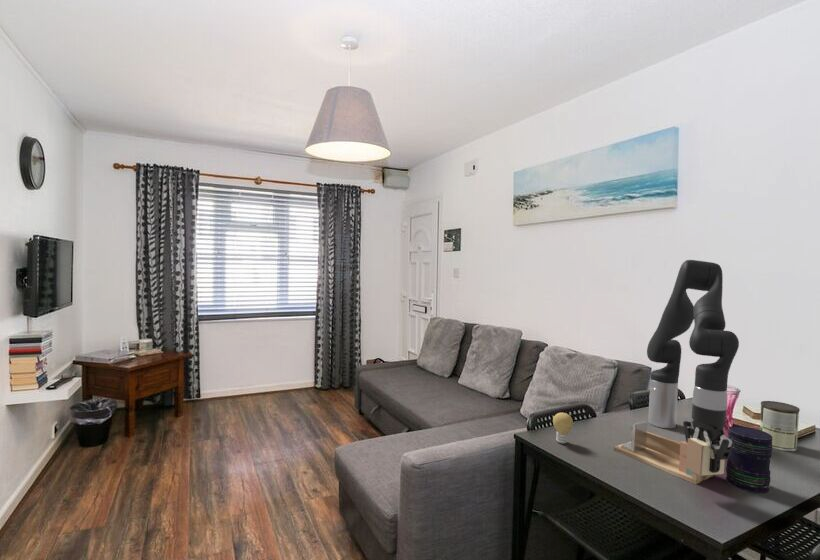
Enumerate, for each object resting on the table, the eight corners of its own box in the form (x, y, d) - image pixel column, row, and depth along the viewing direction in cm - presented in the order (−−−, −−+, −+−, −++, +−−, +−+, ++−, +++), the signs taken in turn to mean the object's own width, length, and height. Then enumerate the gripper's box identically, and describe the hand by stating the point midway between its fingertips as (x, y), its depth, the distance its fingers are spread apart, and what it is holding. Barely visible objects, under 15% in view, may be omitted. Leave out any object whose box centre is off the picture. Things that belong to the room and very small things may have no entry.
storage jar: (730, 472, 128) (733, 423, 127) (772, 486, 120) (776, 433, 120) (721, 483, 121) (724, 431, 121) (765, 498, 114) (769, 442, 113)
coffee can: (751, 437, 156) (754, 399, 155) (783, 440, 154) (786, 401, 154) (770, 449, 146) (773, 408, 145) (805, 452, 144) (807, 411, 144)
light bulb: (567, 447, 142) (568, 417, 141) (548, 442, 146) (550, 412, 146) (574, 442, 146) (576, 413, 146) (556, 436, 151) (558, 408, 150)
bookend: (633, 443, 144) (634, 417, 144) (646, 448, 141) (647, 421, 140) (621, 447, 141) (622, 420, 141) (633, 452, 137) (635, 424, 137)
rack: (632, 443, 147) (634, 413, 146) (714, 475, 125) (716, 440, 125) (613, 449, 141) (615, 418, 141) (695, 484, 120) (697, 447, 120)
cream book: (709, 465, 117) (710, 437, 117) (723, 473, 113) (725, 444, 113) (685, 467, 116) (687, 438, 116) (700, 475, 112) (702, 445, 111)
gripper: (746, 413, 107) (742, 480, 108) (698, 395, 121) (695, 454, 122) (721, 414, 106) (716, 482, 107) (675, 396, 120) (672, 455, 121)
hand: (705, 466), depth 115 cm, fingers closed on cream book, 4 cm apart
